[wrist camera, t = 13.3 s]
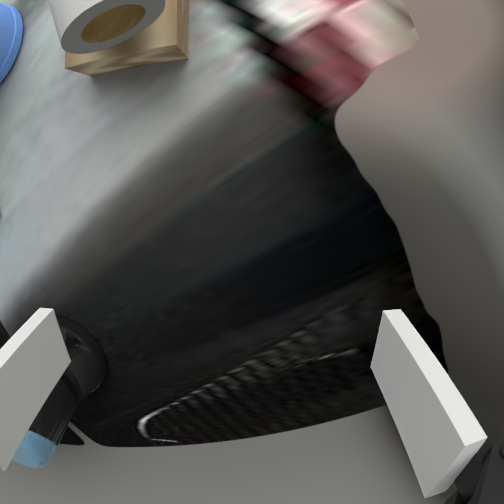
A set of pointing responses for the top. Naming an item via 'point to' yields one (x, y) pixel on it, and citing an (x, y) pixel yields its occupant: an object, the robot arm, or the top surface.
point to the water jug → (9, 37)
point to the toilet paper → (101, 22)
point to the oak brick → (141, 44)
